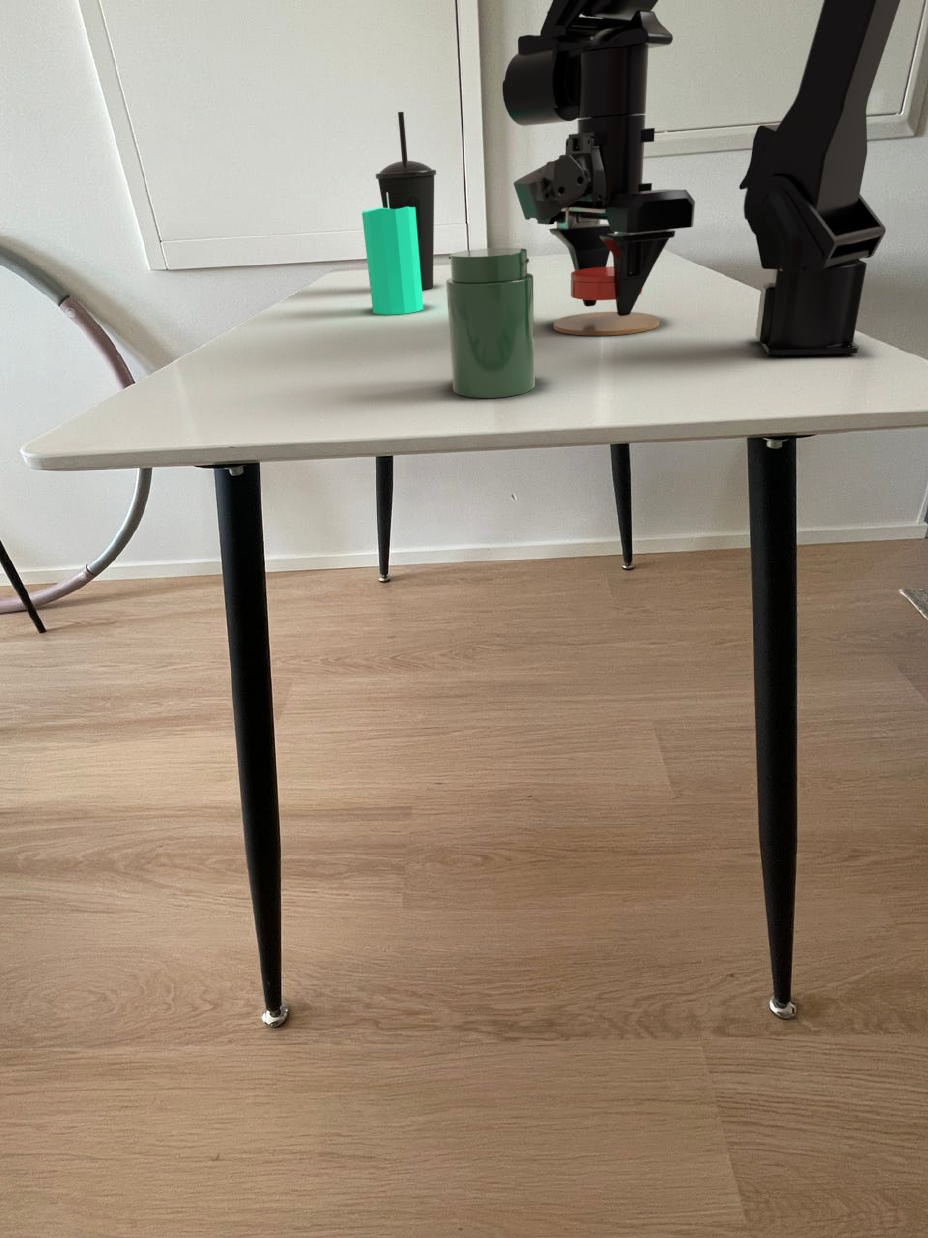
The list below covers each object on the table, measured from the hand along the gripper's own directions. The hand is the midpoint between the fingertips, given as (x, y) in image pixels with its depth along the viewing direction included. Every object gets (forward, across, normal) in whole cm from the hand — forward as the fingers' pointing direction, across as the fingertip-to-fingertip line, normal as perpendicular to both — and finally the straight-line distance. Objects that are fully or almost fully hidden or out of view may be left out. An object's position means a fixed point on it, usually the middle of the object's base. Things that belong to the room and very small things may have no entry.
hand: (605, 310), depth 76 cm
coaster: (+1, 0, 0) cm, 1 cm away
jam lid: (-3, 0, 0) cm, 3 cm away
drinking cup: (+2, -39, -8) cm, 40 cm away
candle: (+2, -23, -14) cm, 27 cm away
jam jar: (+1, +16, -18) cm, 24 cm away
